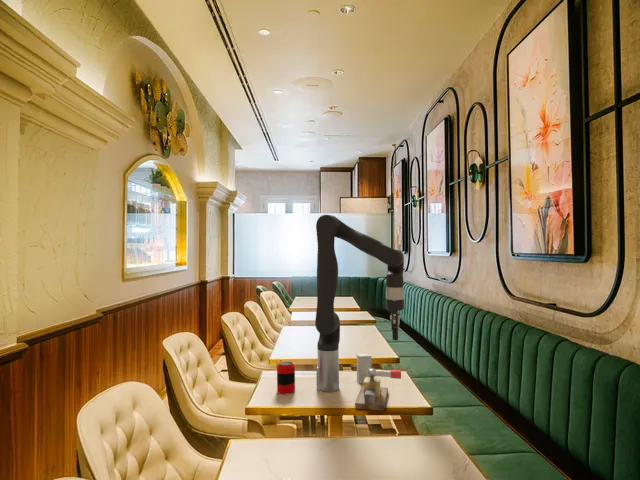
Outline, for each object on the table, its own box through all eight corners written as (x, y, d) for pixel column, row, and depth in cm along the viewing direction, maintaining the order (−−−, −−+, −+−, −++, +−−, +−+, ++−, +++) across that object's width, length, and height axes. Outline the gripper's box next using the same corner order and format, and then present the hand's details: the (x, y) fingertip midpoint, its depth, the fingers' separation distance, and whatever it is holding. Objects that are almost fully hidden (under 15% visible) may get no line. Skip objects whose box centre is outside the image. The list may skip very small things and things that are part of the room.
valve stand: (355, 408, 159) (354, 383, 159) (361, 390, 177) (361, 368, 177) (384, 410, 156) (383, 385, 156) (387, 392, 175) (387, 369, 175)
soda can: (296, 393, 175) (296, 365, 175) (278, 395, 173) (278, 366, 173) (293, 387, 182) (293, 360, 182) (276, 389, 180) (275, 361, 180)
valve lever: (367, 376, 166) (367, 370, 166) (368, 374, 169) (368, 367, 169) (400, 379, 162) (400, 372, 162) (401, 376, 166) (401, 369, 166)
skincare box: (358, 383, 186) (358, 356, 186) (356, 380, 190) (356, 353, 190) (372, 382, 187) (371, 355, 187) (369, 379, 191) (369, 353, 191)
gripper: (387, 295, 179) (387, 335, 179) (384, 299, 166) (384, 343, 166) (404, 295, 177) (405, 336, 177) (403, 300, 164) (404, 344, 164)
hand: (395, 339), depth 171 cm, fingers closed
